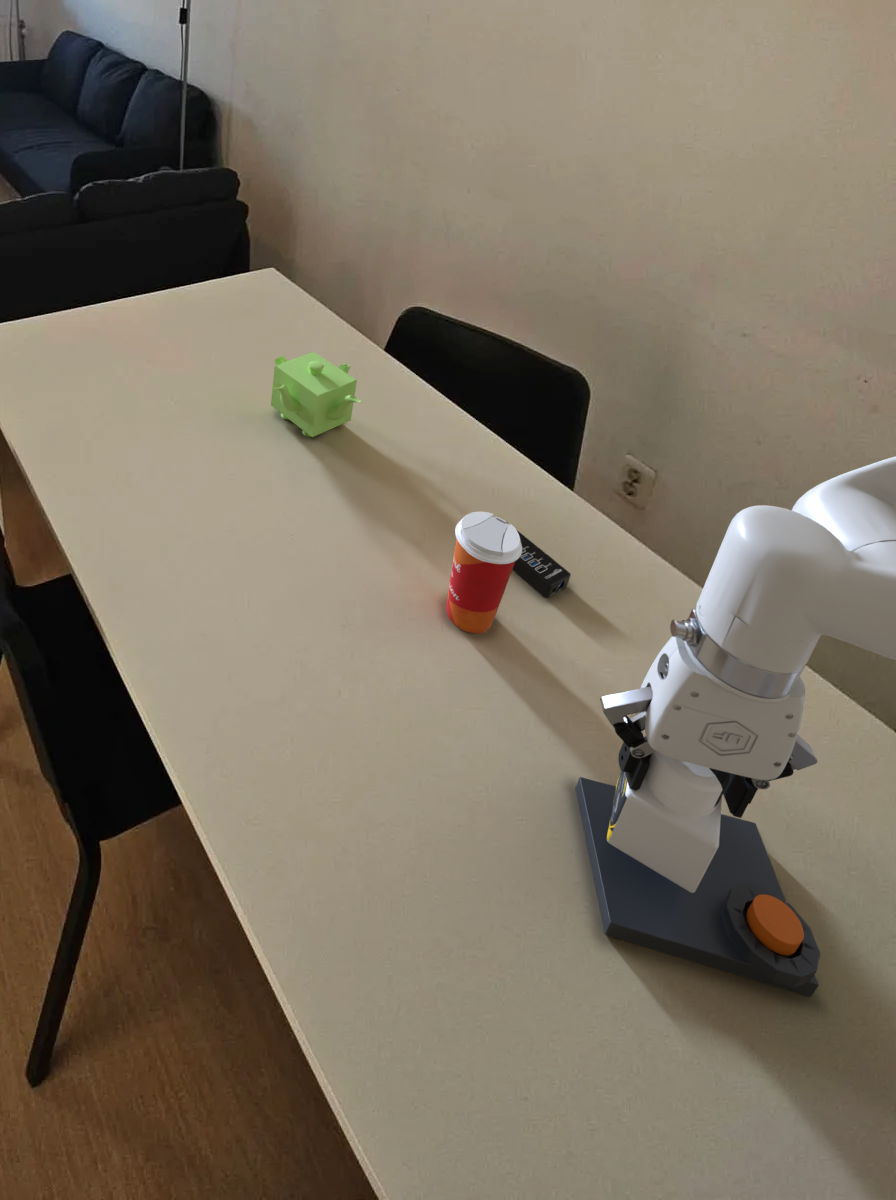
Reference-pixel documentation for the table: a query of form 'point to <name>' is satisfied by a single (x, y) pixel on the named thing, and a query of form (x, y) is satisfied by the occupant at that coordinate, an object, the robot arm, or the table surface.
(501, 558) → the paper cup
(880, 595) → the robot arm
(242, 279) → the table surface
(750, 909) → the button
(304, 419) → the kettle
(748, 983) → the table surface
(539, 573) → the multiport hub
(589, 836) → the scale
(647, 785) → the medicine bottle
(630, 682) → the table surface
